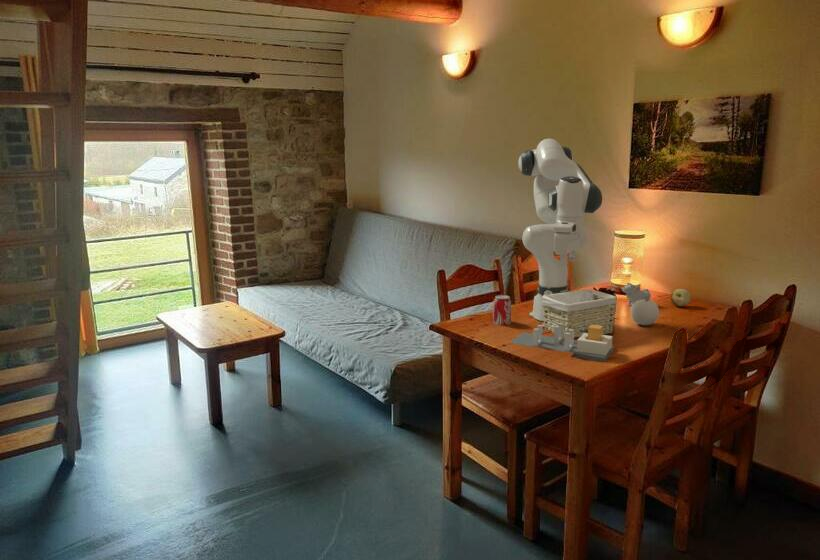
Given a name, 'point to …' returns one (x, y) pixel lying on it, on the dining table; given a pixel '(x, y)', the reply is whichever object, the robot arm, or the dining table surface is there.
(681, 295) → the fruit
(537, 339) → the board
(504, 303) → the soda can
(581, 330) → the plug
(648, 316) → the ornament
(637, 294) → the dog figurine
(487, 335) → the dining table surface
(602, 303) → the storage basket
